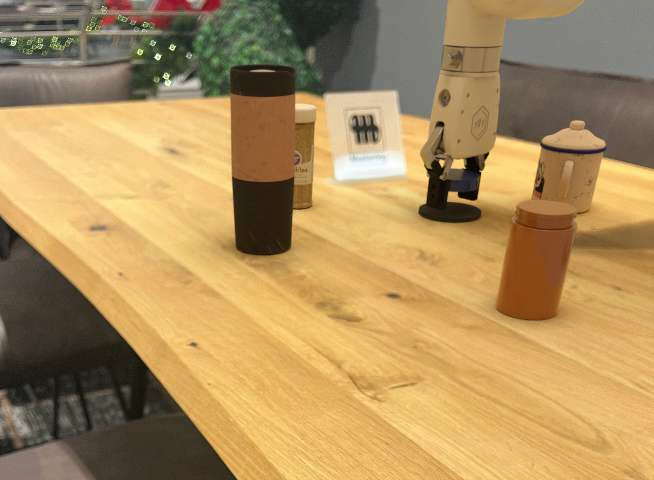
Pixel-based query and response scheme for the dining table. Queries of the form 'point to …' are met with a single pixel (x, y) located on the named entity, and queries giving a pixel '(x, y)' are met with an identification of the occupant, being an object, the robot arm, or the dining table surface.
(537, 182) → the teacup with lid
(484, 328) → the dining table surface
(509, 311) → the jar
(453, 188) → the lid
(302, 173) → the sprinkles bottle
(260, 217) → the travel mug
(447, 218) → the coaster
